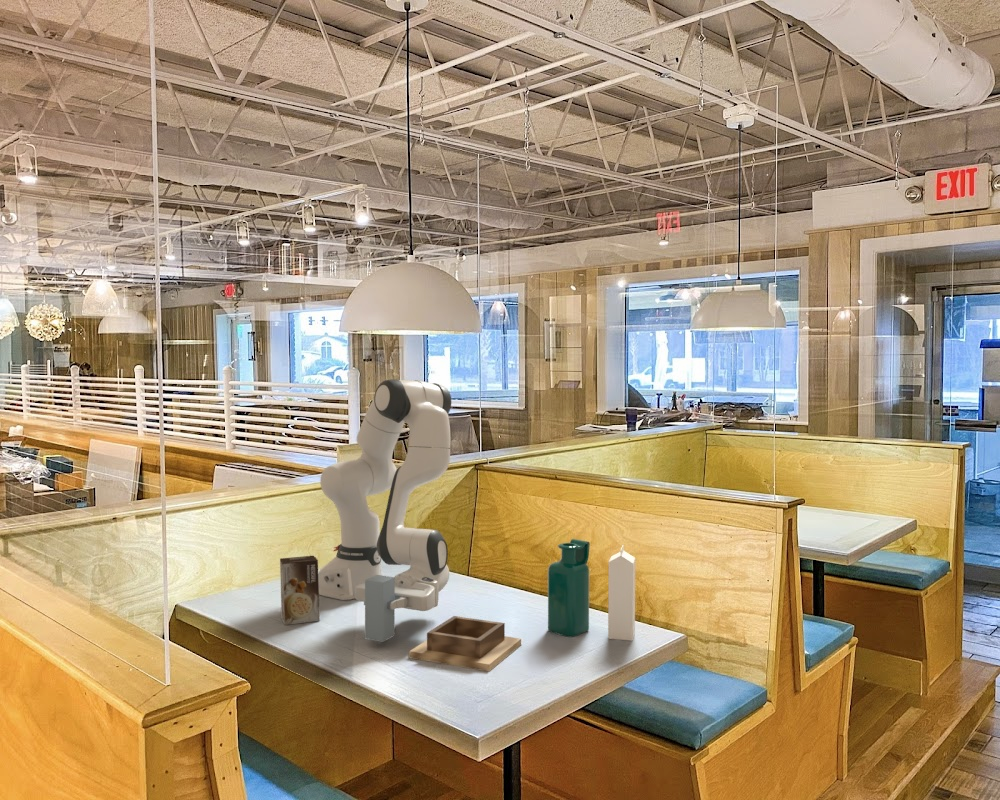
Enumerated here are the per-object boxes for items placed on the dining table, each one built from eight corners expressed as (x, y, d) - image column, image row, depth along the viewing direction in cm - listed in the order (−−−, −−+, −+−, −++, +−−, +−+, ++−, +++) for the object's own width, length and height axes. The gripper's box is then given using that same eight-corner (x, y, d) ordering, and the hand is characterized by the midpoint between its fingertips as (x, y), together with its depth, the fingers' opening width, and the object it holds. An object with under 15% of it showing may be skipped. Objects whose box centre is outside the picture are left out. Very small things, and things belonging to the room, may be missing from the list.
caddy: (409, 657, 183) (409, 633, 182) (446, 633, 199) (446, 611, 199) (489, 671, 175) (489, 646, 174) (521, 644, 191) (521, 622, 191)
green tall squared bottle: (571, 638, 195) (571, 548, 194) (544, 630, 201) (544, 543, 200) (595, 628, 202) (595, 542, 201) (568, 621, 208) (568, 537, 207)
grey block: (364, 638, 189) (365, 579, 189) (376, 631, 194) (376, 574, 193) (383, 641, 187) (383, 582, 187) (394, 635, 192) (394, 577, 191)
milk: (608, 639, 195) (607, 549, 194) (610, 631, 201) (610, 543, 200) (633, 641, 194) (633, 550, 193) (635, 632, 200) (635, 544, 199)
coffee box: (316, 614, 215) (315, 554, 214) (320, 621, 209) (319, 560, 208) (280, 618, 211) (279, 557, 211) (283, 625, 205) (282, 563, 205)
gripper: (373, 571, 206) (341, 585, 193) (443, 581, 198) (415, 596, 185) (373, 596, 206) (341, 611, 194) (443, 607, 198) (414, 623, 185)
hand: (377, 604), depth 189 cm, fingers closed on grey block, 5 cm apart
